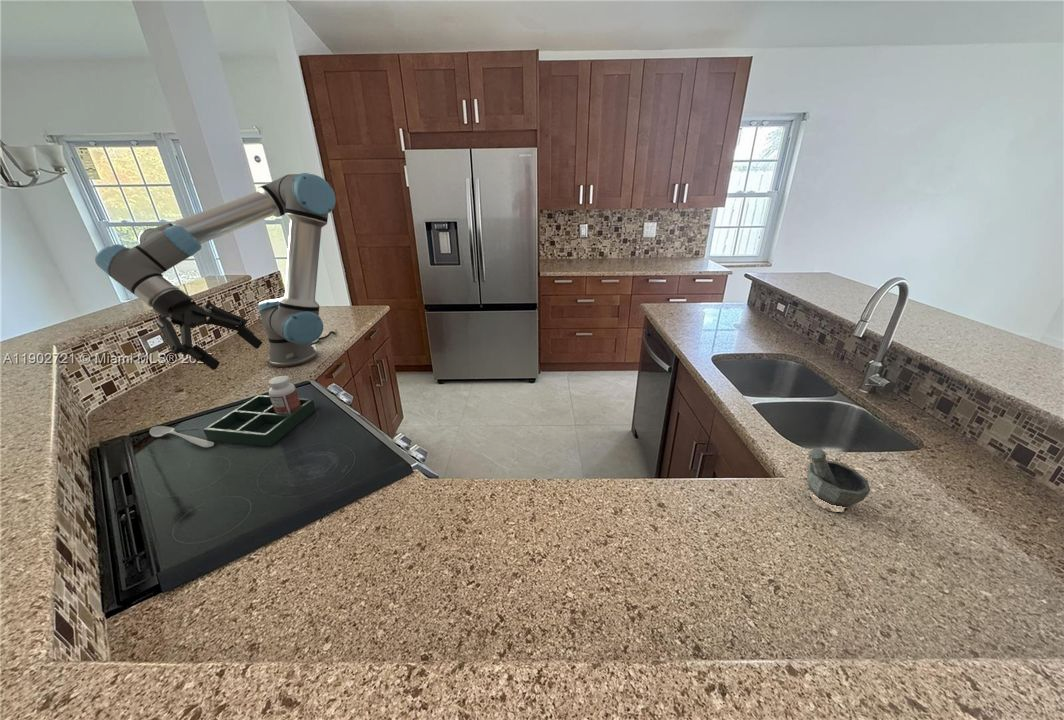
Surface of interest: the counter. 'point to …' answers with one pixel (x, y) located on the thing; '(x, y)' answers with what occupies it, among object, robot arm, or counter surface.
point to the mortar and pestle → (835, 481)
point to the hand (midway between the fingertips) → (239, 355)
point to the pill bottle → (283, 395)
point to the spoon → (163, 430)
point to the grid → (257, 422)
